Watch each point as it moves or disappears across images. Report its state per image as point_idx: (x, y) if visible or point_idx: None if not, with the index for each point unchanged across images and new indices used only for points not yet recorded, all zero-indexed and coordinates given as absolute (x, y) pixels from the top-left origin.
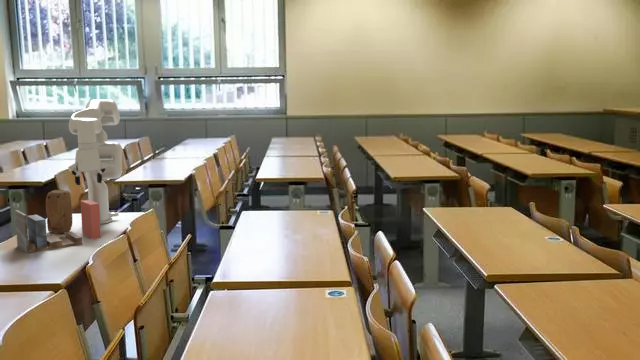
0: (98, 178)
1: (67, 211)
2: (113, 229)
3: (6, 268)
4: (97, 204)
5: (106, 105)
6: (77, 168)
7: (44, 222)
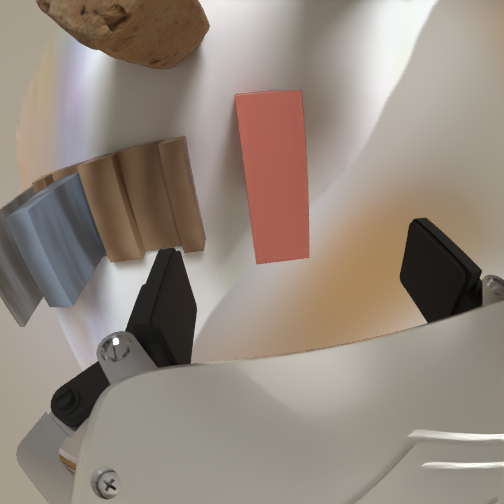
0: (426, 286)
1: (169, 43)
2: (360, 91)
3: (65, 332)
4: (298, 257)
5: None
6: (132, 412)
7: (74, 298)
